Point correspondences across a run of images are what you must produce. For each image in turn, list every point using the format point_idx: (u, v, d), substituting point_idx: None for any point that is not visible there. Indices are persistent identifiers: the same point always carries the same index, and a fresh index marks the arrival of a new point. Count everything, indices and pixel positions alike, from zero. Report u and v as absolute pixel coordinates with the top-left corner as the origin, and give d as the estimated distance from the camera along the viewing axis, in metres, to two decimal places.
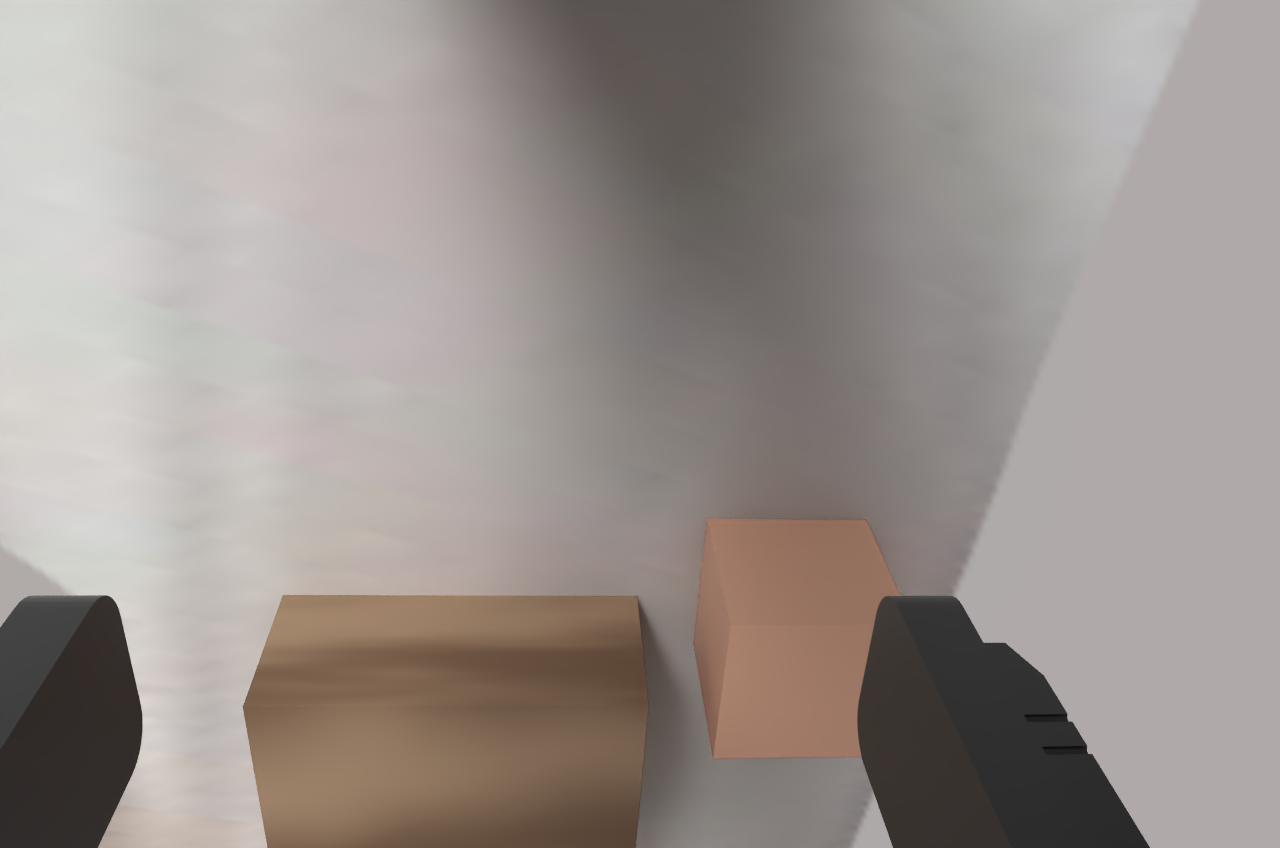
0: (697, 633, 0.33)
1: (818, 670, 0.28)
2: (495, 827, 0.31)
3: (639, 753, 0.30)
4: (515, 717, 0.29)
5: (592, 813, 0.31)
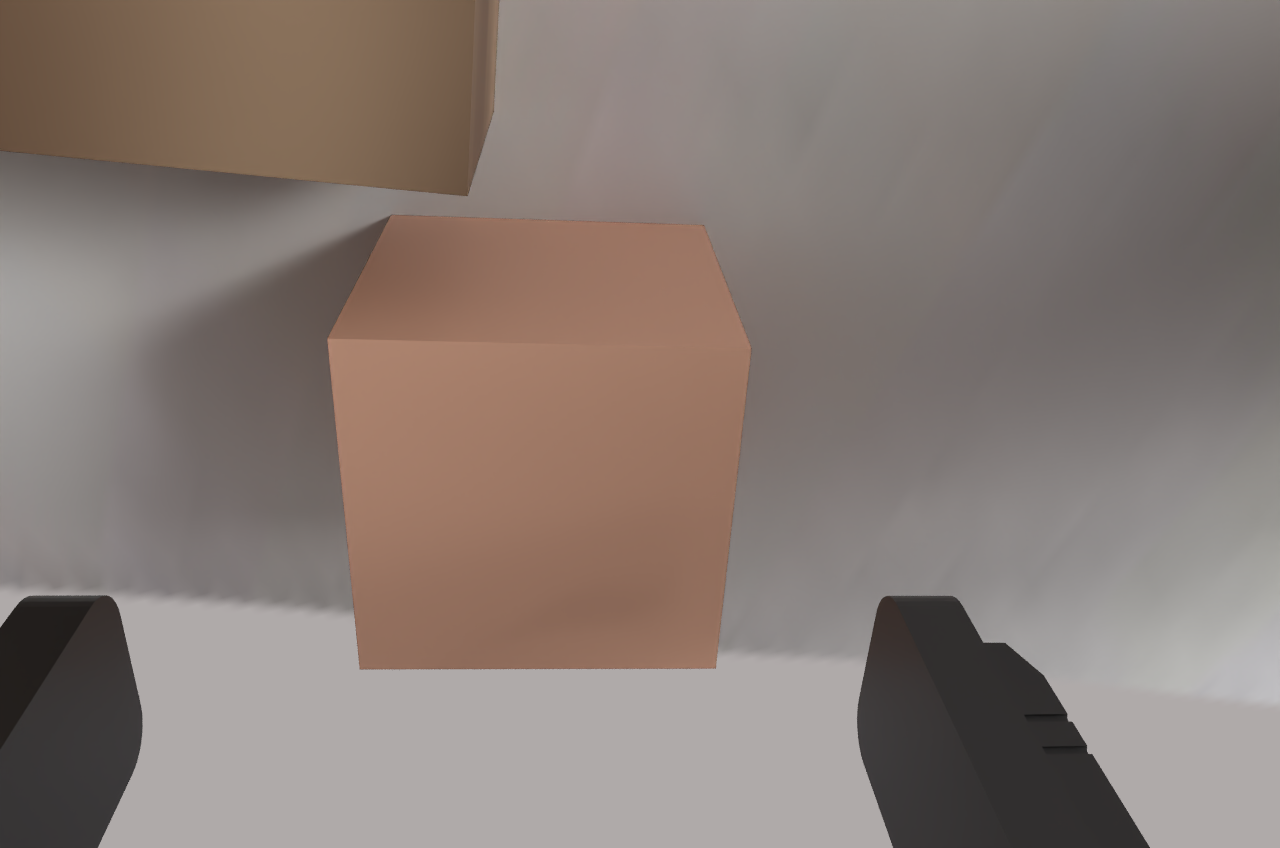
0: (441, 226, 0.16)
1: (608, 527, 0.13)
2: None
3: (290, 166, 0.11)
4: None
5: (29, 18, 0.10)
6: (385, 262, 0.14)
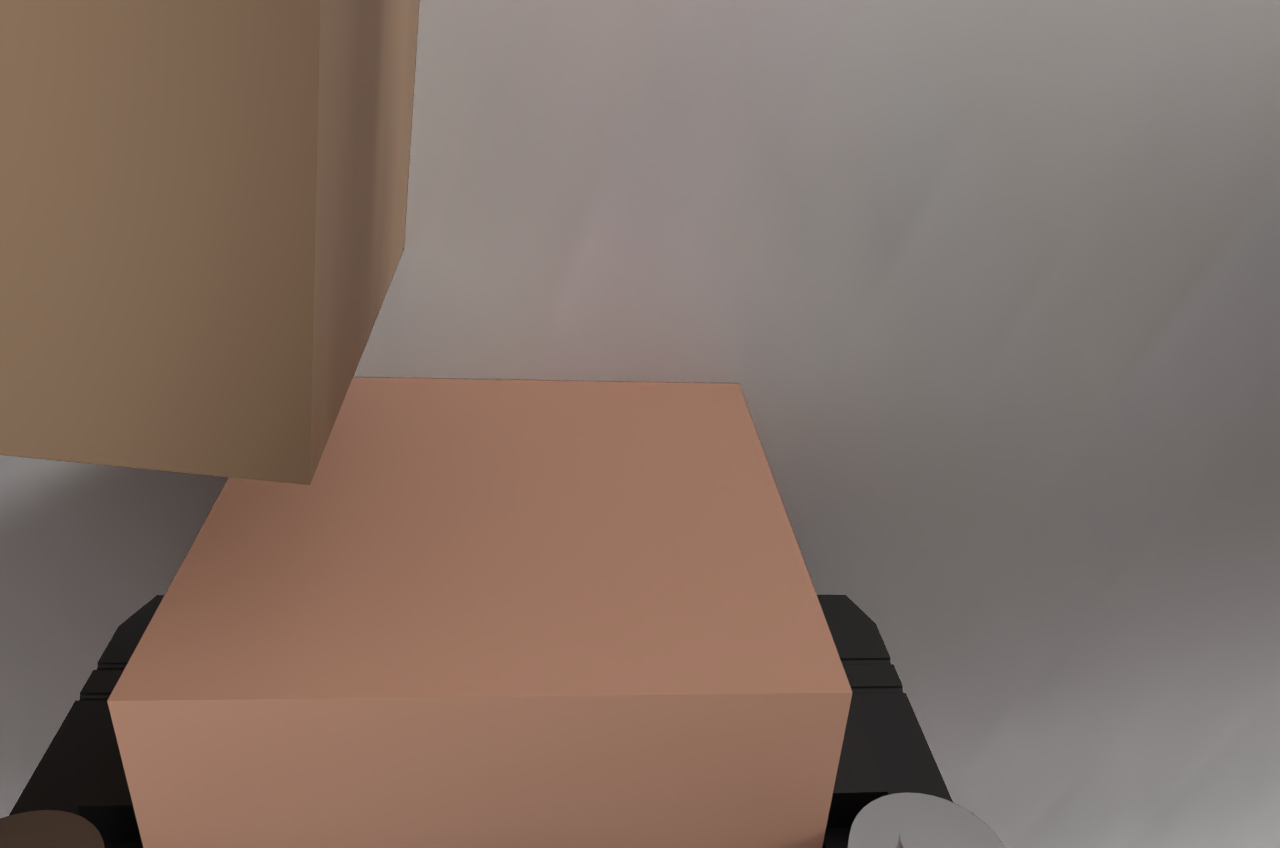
0: (353, 400, 0.11)
1: None
2: None
3: None
4: None
5: None
6: (253, 487, 0.09)
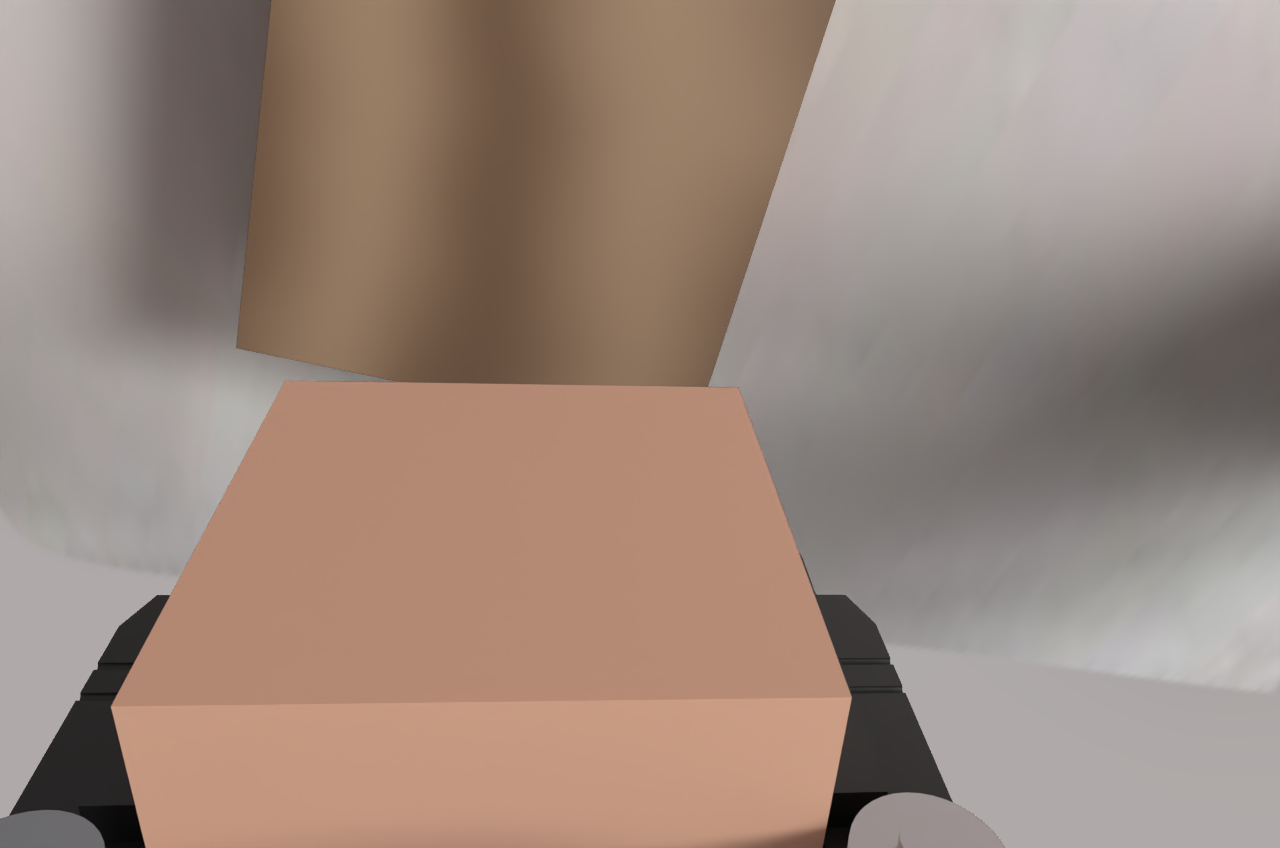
0: (354, 405, 0.11)
1: None
2: (529, 234, 0.23)
3: None
4: (715, 303, 0.24)
5: (527, 355, 0.24)
6: (254, 492, 0.09)
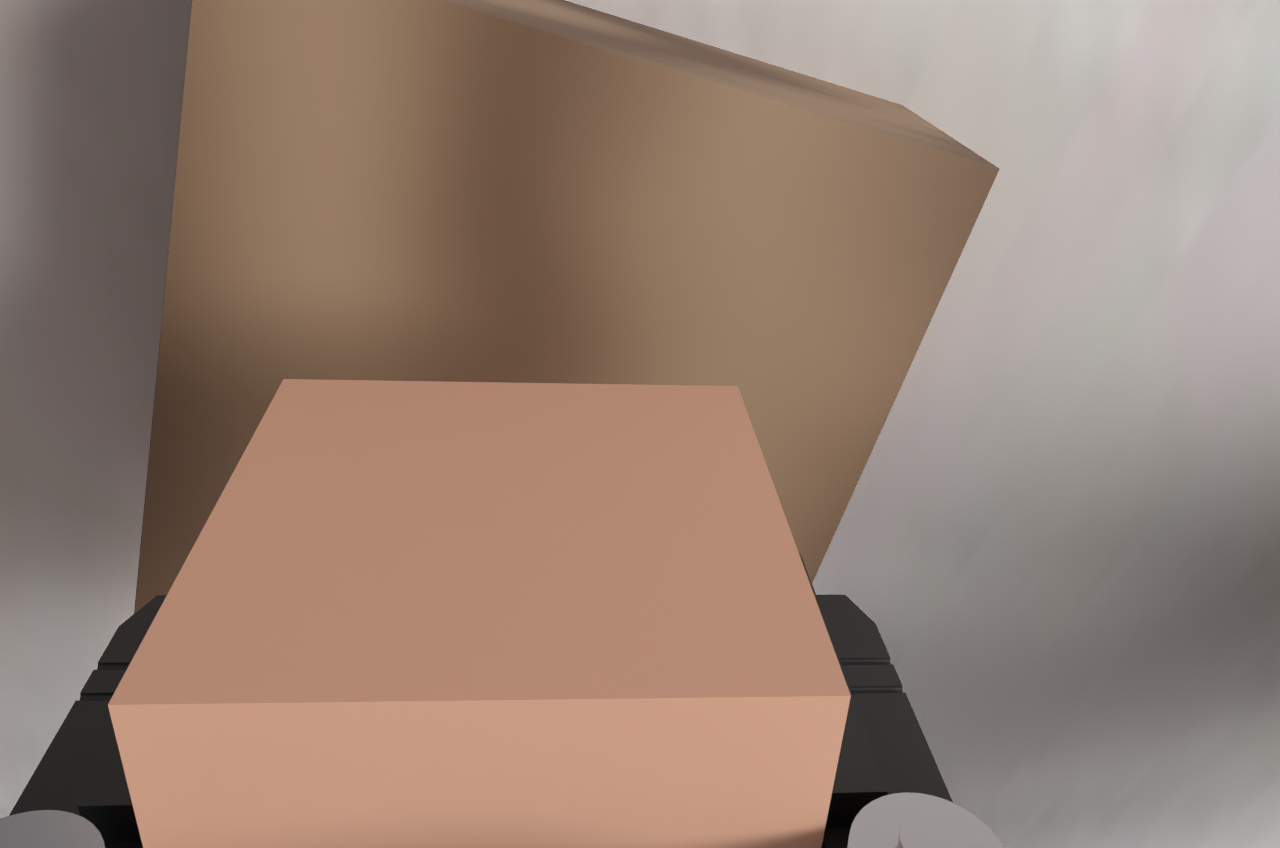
0: (353, 404, 0.11)
1: None
2: None
3: None
4: None
5: None
6: (252, 491, 0.09)
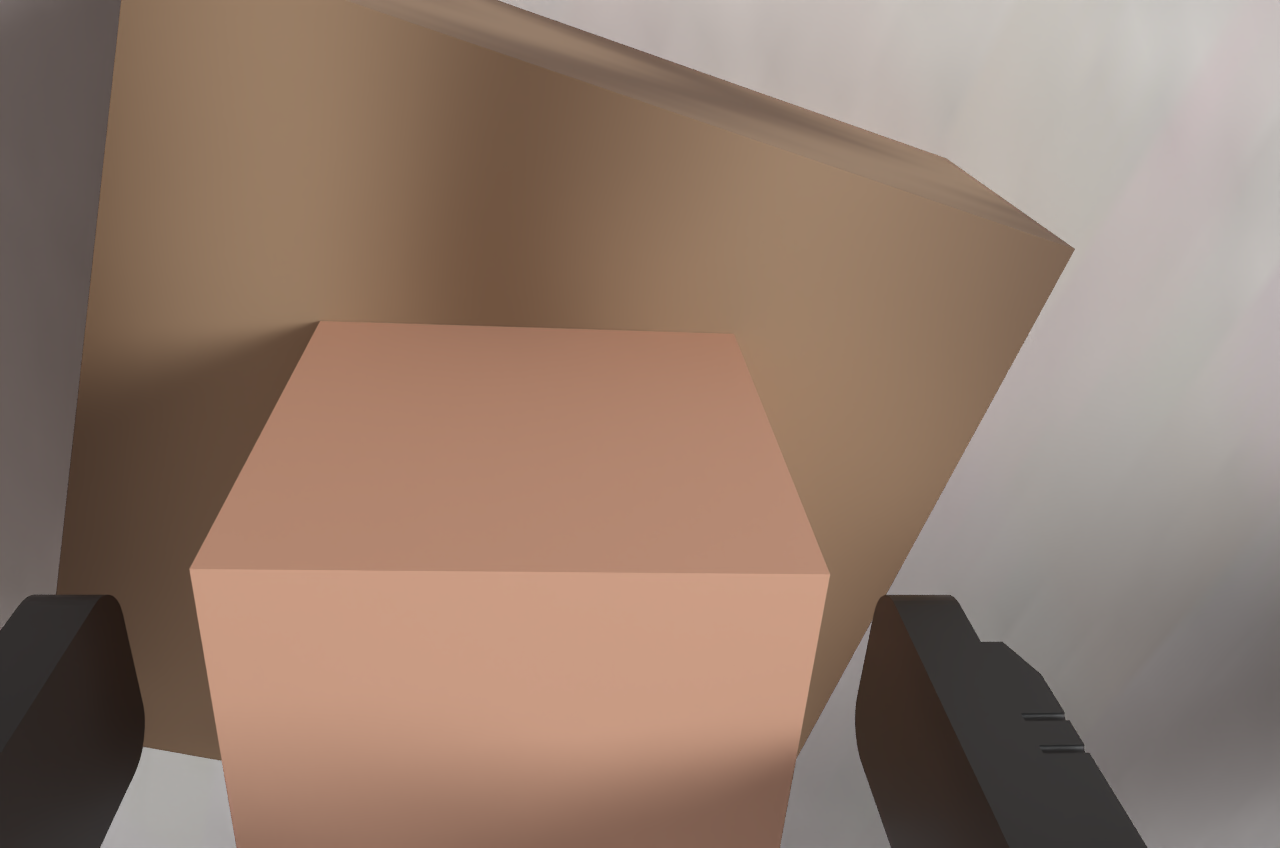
0: (384, 342, 0.12)
1: (613, 806, 0.09)
2: None
3: None
4: None
5: None
6: (300, 409, 0.10)
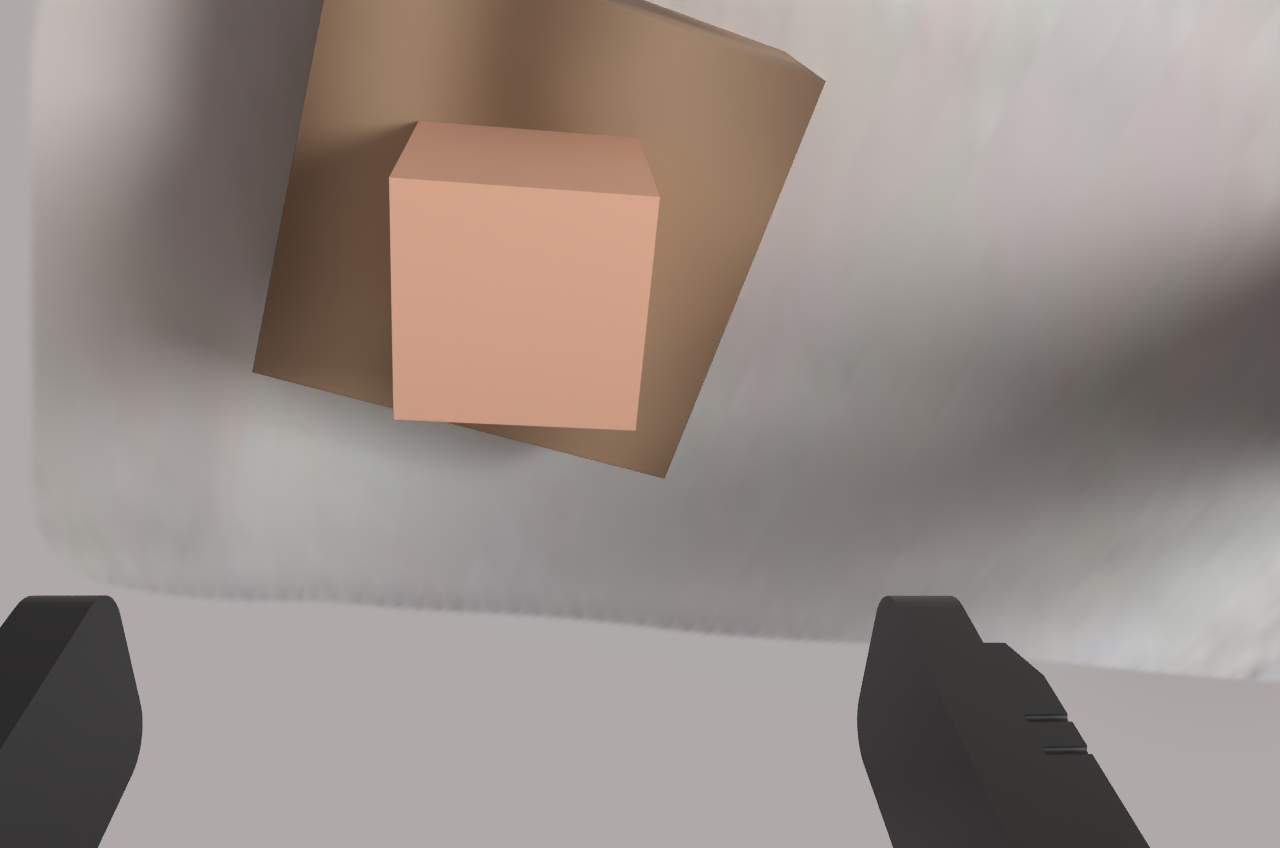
0: (454, 129, 0.23)
1: (565, 321, 0.20)
2: None
3: (599, 457, 0.28)
4: (696, 355, 0.26)
5: None
6: (419, 145, 0.21)
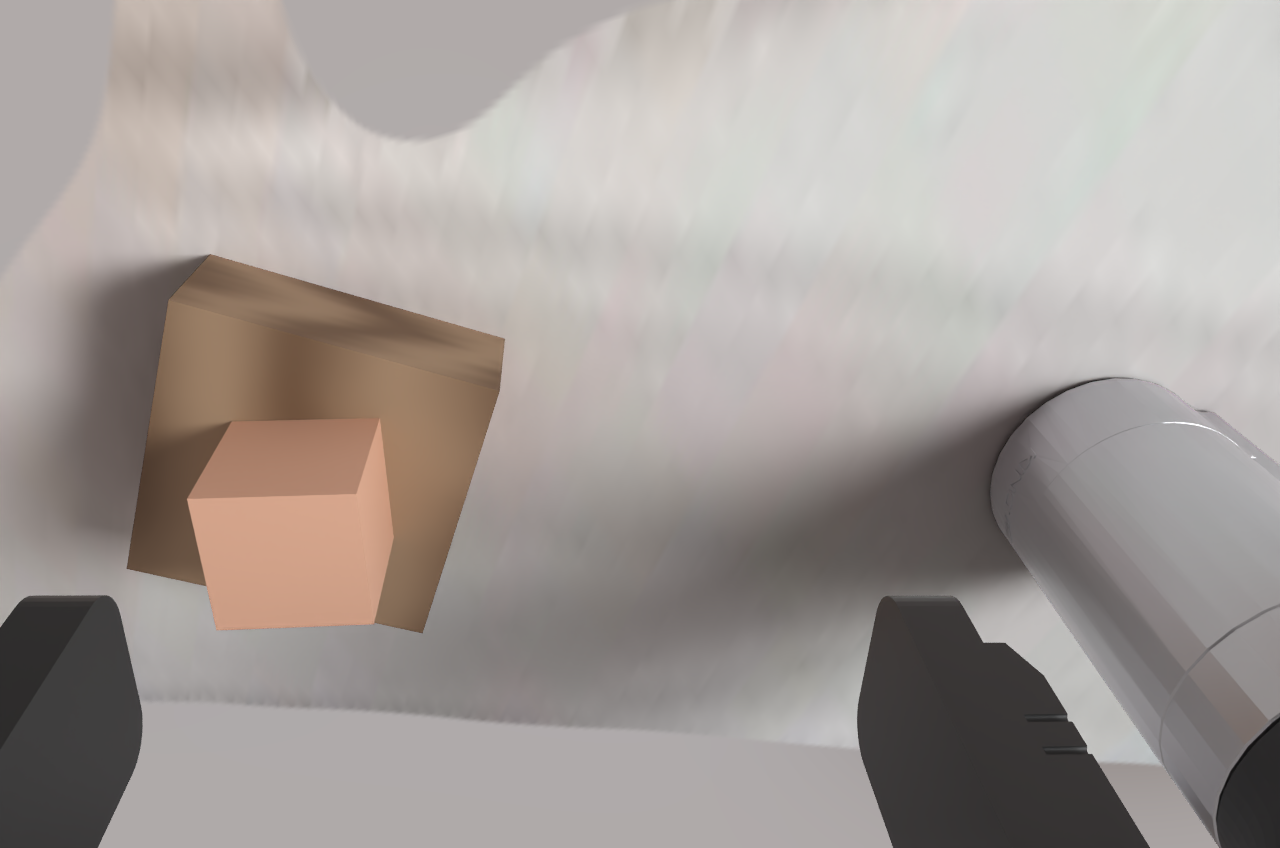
0: (252, 428, 0.35)
1: (313, 565, 0.32)
2: None
3: None
4: (434, 555, 0.38)
5: None
6: (220, 454, 0.33)
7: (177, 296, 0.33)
